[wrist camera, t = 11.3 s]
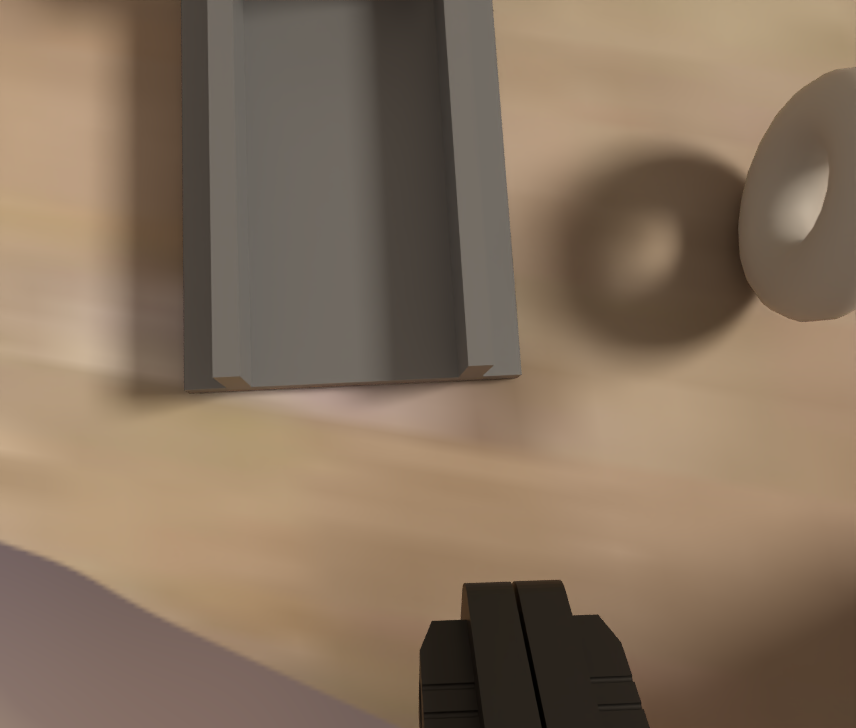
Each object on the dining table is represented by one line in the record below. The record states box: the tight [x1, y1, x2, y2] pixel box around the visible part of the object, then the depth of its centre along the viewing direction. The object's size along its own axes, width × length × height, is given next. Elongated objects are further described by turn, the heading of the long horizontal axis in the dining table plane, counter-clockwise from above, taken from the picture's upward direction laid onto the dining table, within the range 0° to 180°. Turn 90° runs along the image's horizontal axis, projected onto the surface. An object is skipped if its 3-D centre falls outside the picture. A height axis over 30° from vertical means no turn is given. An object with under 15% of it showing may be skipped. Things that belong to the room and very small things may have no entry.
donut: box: [738, 67, 856, 322], centre depth 30 cm, size 10×3×10 cm, turn 174°
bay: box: [181, 0, 522, 393], centre depth 32 cm, size 14×26×5 cm, turn 3°
